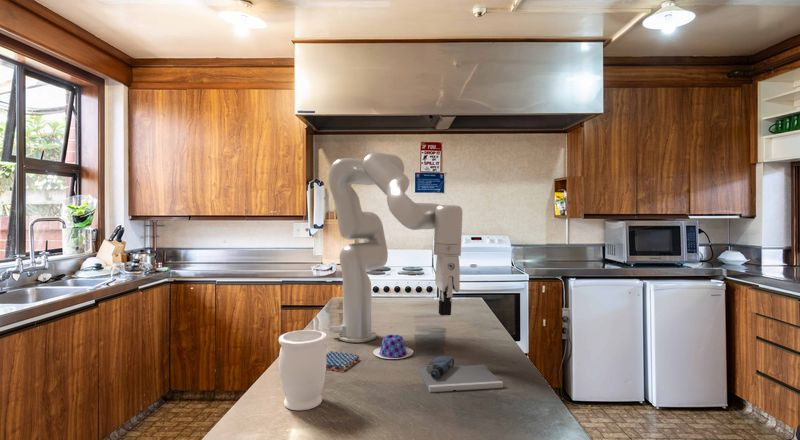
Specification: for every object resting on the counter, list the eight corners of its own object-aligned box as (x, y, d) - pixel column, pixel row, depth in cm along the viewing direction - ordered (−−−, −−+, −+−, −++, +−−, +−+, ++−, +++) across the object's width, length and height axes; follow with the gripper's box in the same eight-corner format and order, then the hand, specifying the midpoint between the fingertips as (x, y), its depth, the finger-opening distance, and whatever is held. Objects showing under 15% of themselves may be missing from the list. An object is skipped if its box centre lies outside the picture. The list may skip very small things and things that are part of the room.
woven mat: (309, 369, 119) (309, 361, 119) (329, 357, 129) (329, 350, 129) (342, 374, 115) (342, 366, 115) (361, 361, 125) (361, 354, 125)
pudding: (374, 347, 137) (374, 331, 137) (413, 348, 136) (413, 331, 136) (371, 361, 125) (371, 343, 125) (413, 361, 124) (413, 343, 124)
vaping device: (455, 366, 118) (438, 381, 107) (437, 364, 121) (419, 379, 110) (455, 356, 118) (437, 371, 108) (437, 355, 121) (418, 368, 110)
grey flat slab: (429, 392, 103) (429, 387, 103) (418, 370, 117) (418, 365, 117) (503, 387, 105) (503, 382, 105) (483, 366, 119) (484, 362, 119)
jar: (283, 393, 102) (283, 329, 102) (328, 391, 103) (328, 328, 103) (274, 414, 92) (274, 343, 91) (324, 412, 92) (324, 342, 92)
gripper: (468, 253, 114) (465, 322, 116) (453, 246, 129) (451, 307, 130) (440, 252, 113) (437, 322, 115) (428, 246, 128) (426, 307, 129)
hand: (444, 314), depth 122 cm, fingers closed
